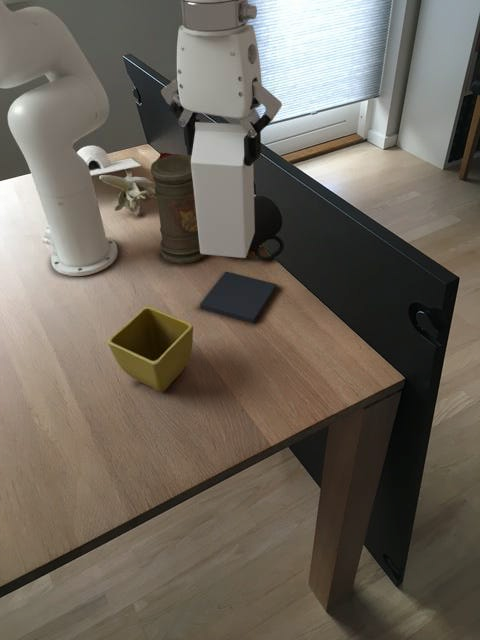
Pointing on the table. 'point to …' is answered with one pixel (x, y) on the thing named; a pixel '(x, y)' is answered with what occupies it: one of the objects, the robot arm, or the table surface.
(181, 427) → the table surface
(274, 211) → the mug
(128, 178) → the pale green plant
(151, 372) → the flower pot
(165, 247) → the container
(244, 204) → the milk carton
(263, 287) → the slate mat
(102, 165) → the igloo
